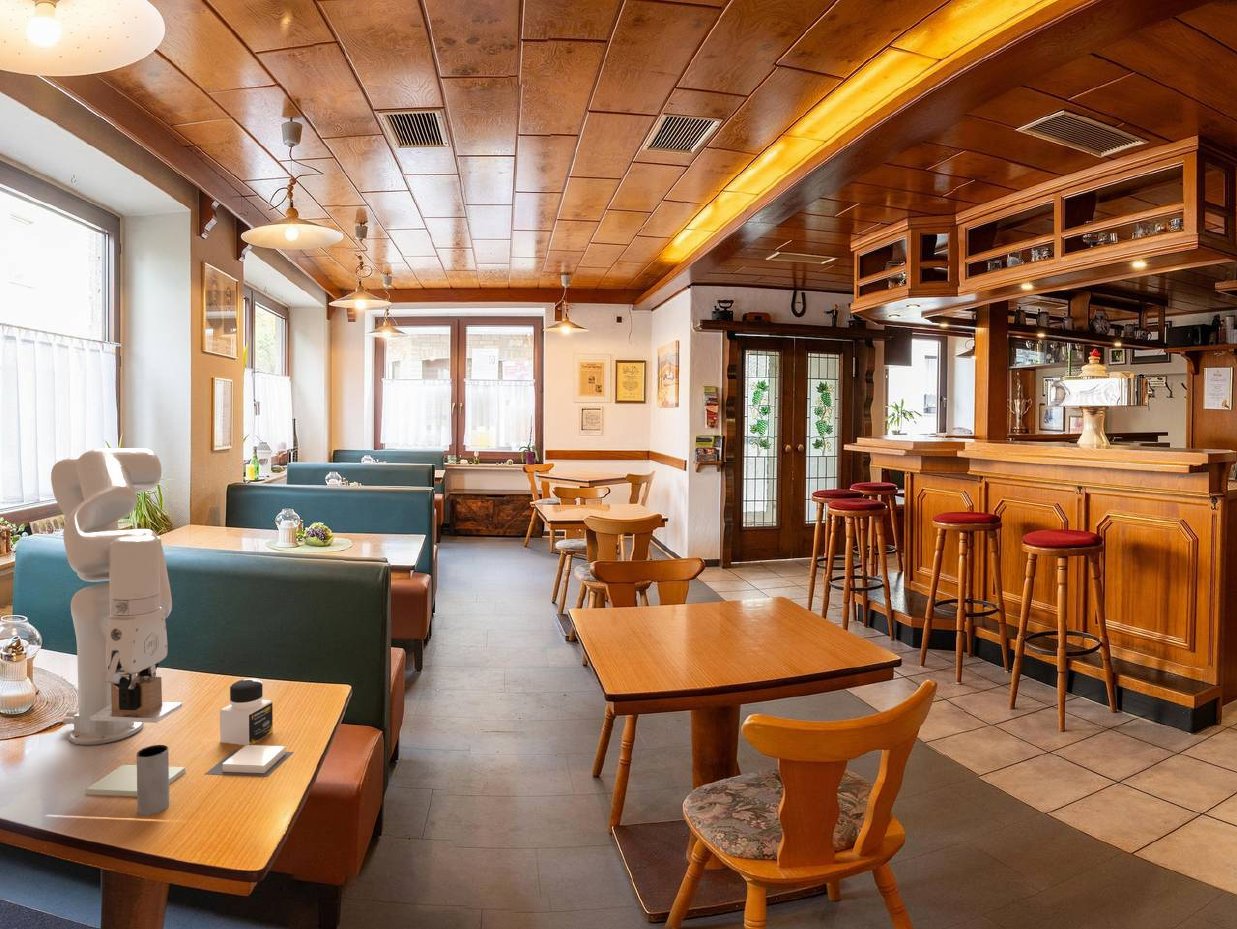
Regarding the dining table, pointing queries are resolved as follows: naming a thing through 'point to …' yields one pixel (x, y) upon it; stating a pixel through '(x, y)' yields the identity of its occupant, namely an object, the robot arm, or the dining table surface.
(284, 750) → the tile
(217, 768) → the mat
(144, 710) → the float
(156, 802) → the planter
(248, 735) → the medicine bottle
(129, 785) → the board
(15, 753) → the dining table surface
